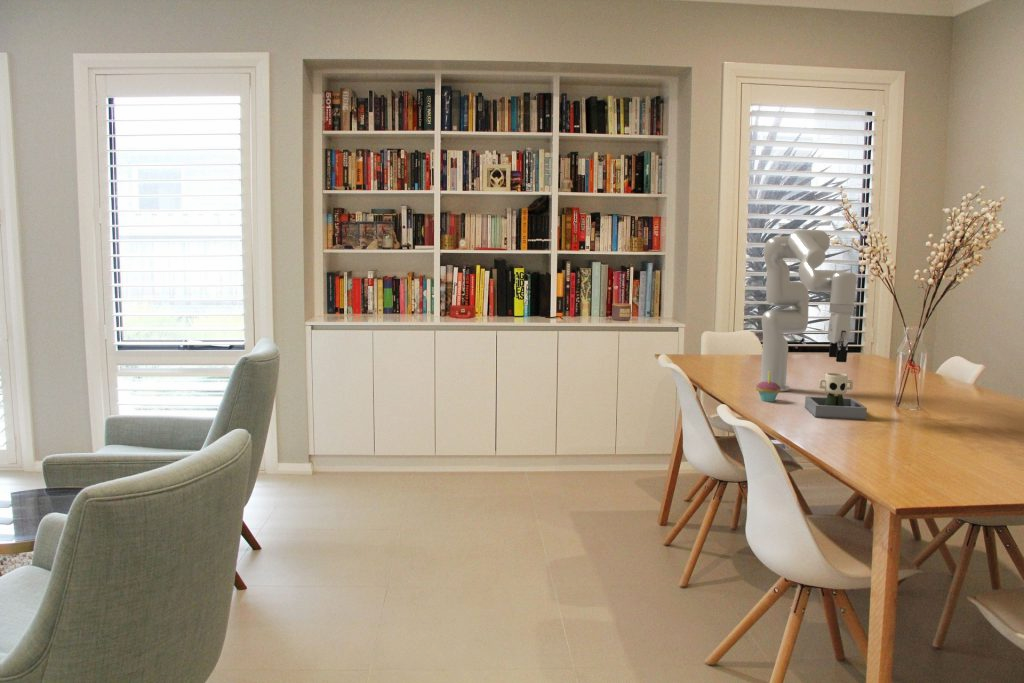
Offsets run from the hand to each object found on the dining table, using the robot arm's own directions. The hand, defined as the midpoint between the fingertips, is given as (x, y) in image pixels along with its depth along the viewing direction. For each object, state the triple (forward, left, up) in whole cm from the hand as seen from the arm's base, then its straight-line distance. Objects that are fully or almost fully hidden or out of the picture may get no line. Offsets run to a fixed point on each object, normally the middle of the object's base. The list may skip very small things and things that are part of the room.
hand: (837, 359), depth 264 cm
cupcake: (-18, -19, -19) cm, 32 cm away
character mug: (0, 0, -18) cm, 18 cm away
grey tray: (0, 0, -19) cm, 19 cm away
